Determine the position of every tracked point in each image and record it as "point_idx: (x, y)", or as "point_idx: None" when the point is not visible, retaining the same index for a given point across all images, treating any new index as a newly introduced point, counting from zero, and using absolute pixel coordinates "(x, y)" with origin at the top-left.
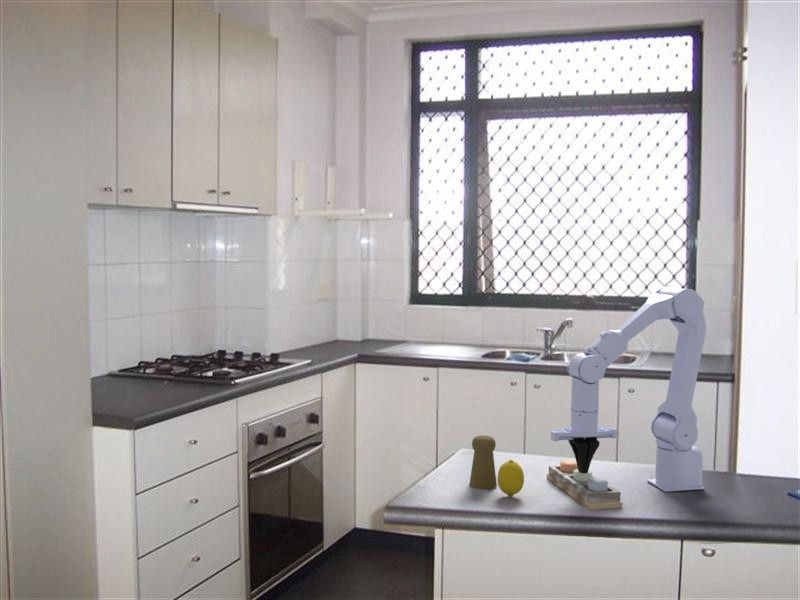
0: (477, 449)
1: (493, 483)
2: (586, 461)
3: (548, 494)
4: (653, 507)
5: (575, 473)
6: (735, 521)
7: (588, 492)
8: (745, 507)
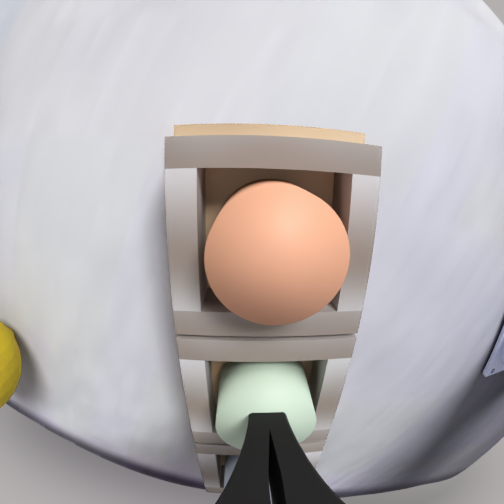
0: None
1: None
2: (271, 494)
3: (116, 350)
4: (372, 457)
5: (217, 430)
6: (425, 478)
7: (208, 486)
8: (491, 429)
